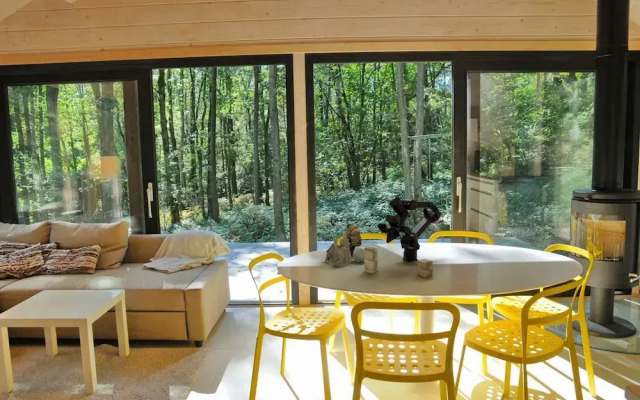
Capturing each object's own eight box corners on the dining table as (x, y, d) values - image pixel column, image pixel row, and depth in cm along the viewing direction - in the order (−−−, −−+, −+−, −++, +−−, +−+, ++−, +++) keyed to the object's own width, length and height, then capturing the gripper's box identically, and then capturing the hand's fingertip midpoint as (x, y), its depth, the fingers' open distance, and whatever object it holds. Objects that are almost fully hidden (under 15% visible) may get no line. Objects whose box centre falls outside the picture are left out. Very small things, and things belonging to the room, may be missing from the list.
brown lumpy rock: (367, 257, 254) (367, 227, 253) (346, 257, 254) (346, 227, 252) (364, 250, 272) (364, 222, 271) (344, 250, 272) (344, 222, 270)
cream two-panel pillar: (370, 269, 226) (370, 245, 225) (377, 271, 223) (377, 247, 221) (364, 271, 223) (364, 247, 221) (371, 273, 219) (371, 248, 218)
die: (363, 265, 239) (372, 249, 241) (349, 256, 240) (358, 241, 242) (362, 266, 247) (370, 251, 249) (348, 258, 248) (357, 243, 250)
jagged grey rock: (330, 257, 254) (330, 231, 251) (357, 261, 245) (357, 234, 243) (316, 265, 240) (316, 237, 238) (344, 270, 232) (344, 241, 230)
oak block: (425, 273, 218) (425, 258, 218) (432, 275, 214) (432, 260, 213) (417, 274, 216) (417, 259, 215) (424, 276, 212) (424, 262, 211)
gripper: (379, 207, 239) (365, 230, 232) (408, 210, 225) (395, 235, 219) (388, 220, 245) (375, 243, 238) (417, 224, 231) (404, 248, 225)
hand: (387, 242), depth 230 cm, fingers closed
